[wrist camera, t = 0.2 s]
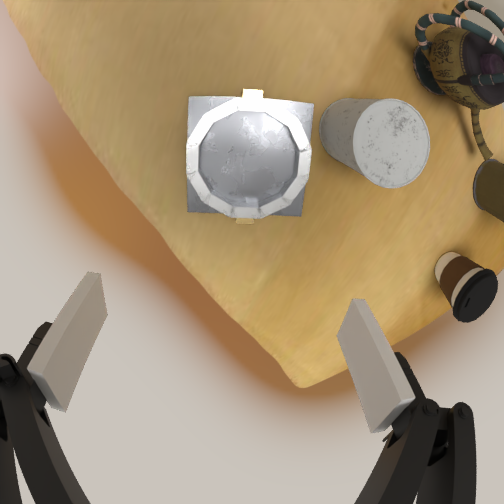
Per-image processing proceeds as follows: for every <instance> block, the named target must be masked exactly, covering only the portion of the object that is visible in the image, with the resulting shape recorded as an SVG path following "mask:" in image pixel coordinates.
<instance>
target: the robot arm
mask: <svg viewBox="0 0 504 504" xmlns="http://www.w3.org/2000/svg"><path fill="white" fill-rule="evenodd" d="M107 315H108V314H107V309H106V304H105V298H104V293H103V287H102V280H101V274H99V273H92V272H87V274H86V275H85V276H84V278H83V279H82V281H81V282H80V283H79V285H78V286H77V288H76V289H75V291H74V292H73V294H72V295H71V296H70V298H69V299H68V301H67V302H66V304H65V305H64V307H63V308H62V310H61V311H60V313H59V314H58V316H57V318H56V320H55V321H54V322H53V323H49V322H45V323H44V324H42V325H41V326H40V327H39V328H38V329H37V330H36V332H35V334H34V335H33V338H31V340H30V341H29V344H28V345H27V346H26V348H25V350H24V351H23V353H22V355H21V357H20V358H19V360H18V362H17V363H16V361H15V359H14V358H13V357H12V356H11V355H9V354H0V504H22V500H21V496H20V491H19V485H18V479H17V474H16V467H15V459H14V450H15V453H16V456H17V459H18V462H19V465H20V468H21V470H22V473H23V476H24V478H25V481H26V483H27V485H28V488H29V490H30V492H31V495H32V497H33V499H34V501H35V503H36V504H90V502H89V501H88V499H87V497H86V496H85V494H84V492H83V490H82V489H81V487H80V485H79V483H78V481H77V479H76V478H75V476H74V474H73V472H72V470H71V468H70V466H69V464H68V462H67V460H66V457H65V455H64V453H63V451H62V449H61V447H60V444H59V442H58V439H57V437H56V435H55V432H54V430H53V427H52V425H51V422H50V419H49V417H48V414H47V411H46V409H45V408H44V406H45V403H46V401H47V402H48V403H49V405H50V406H51V408H54V409H57V410H59V411H63V412H66V410H67V408H68V405H69V402H70V400H71V397H72V394H73V392H74V389H75V387H76V385H77V382H78V379H79V377H80V375H81V372H82V370H83V368H84V365H85V363H86V361H87V358H88V356H89V354H90V351H91V349H92V347H93V345H94V343H95V340H96V338H97V336H98V334H99V332H100V330H101V327H102V326H103V323H104V321H105V319H106V317H107ZM337 338H338V341H339V343H340V346H341V349H342V351H343V354H344V357H345V359H346V362H347V365H348V368H349V371H350V373H351V376H352V379H353V382H354V385H355V387H356V390H357V393H358V396H359V399H360V402H361V405H362V408H363V411H364V413H365V417H366V420H367V423H368V426H369V429H370V432H371V433H376V432H381V431H385V430H386V429H387V428H388V427H389V426H390V425H392V428H393V430H392V431H391V432H390V433H389V434H388V435H387V436H386V437H385V438H384V439H383V442H384V441H386V440H387V441H386V444H385V446H384V448H383V451H382V453H381V455H380V457H379V459H378V461H377V463H376V465H375V467H374V469H373V471H372V473H371V475H370V477H369V479H368V481H367V483H366V484H365V486H364V488H363V490H362V491H361V493H360V495H359V497H358V498H357V500H356V502H355V503H354V504H413V502H414V500H415V497H416V495H417V501H416V504H475V499H476V443H475V442H476V441H475V428H474V418H473V412H472V410H471V408H470V407H469V406H468V405H467V404H466V403H463V402H458V403H457V404H455V405H454V406H453V407H452V408H441V407H439V405H438V404H437V403H436V402H435V401H433V400H431V399H428V398H427V399H426V397H425V395H424V393H423V391H422V389H421V387H420V385H419V383H418V381H417V379H416V377H415V375H414V374H413V371H412V369H410V365H409V364H408V362H407V360H406V359H405V358H404V357H403V356H402V354H400V352H393V351H392V349H391V346H390V345H389V343H388V341H387V339H386V337H385V335H384V333H383V331H382V330H381V328H380V326H379V324H378V322H377V320H376V319H375V317H374V315H373V313H372V311H371V310H370V308H369V306H368V304H367V302H366V301H365V299H352V301H351V304H350V306H349V309H348V311H347V313H346V316H345V318H344V320H343V323H342V325H341V327H340V330H339V332H338V334H337ZM13 447H14V449H13ZM417 492H418V494H417Z"/></svg>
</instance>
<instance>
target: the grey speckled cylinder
mask: <svg viewBox="0 0 504 504" xmlns="http://www.w3.org/2000/svg"><path fill="white" fill-rule="evenodd" d="M319 134H320V139H321V142H322V145H323V147H324V148H325V150H326V151H327V153H328V154H329V155H330V156H331V157H333V158H334V159H336V160H337V161H340V162H342V163H344V164H345V165H347V166H349V167H350V168H352V169H354V170H355V171H357V172H358V173H360V174H362V175H363V176H365V177H366V178H367V179H369V180H370V181H371V182H373V183H374V184H376V185H379V186H381V187H384V188H399V187H402V186H405V185H407V184H409V183H411V182H412V181H413V180H415V179H416V178H417V177H418V176H419V175H420V173H421V172H422V170H423V169H424V167H425V165H426V163H427V160H428V157H429V151H430V137H429V132H428V128H427V126H426V123H425V121H424V119H423V118H422V116H421V115H420V114H419V112H418V111H417V110H416V109H415V108H414V107H412V106H411V105H409V104H408V103H406V102H404V101H401V100H398V99H353V98H346V99H341V100H338V101H336V102H334V103H332V104H331V105H330V106H329V107H328V108H327V109H326V110H325V112H324V113H323V115H322V117H321V121H320V125H319Z"/></svg>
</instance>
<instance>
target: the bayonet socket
mask: <svg viewBox="0 0 504 504" xmlns="http://www.w3.org/2000/svg"><path fill="white" fill-rule="evenodd" d="M262 97H263V90H250V89H243V97H225V96H189V104H188V137H187V144H186V174H187V204H188V212H202V213H223V214H225V215H226V216H228V217H231V218H236V224H254V218H257V219H261V218H264V217H266V216H268V215H282V216H301V214H302V207H303V199H304V191H305V184H306V183H307V181H308V178H309V170H310V162H311V153H312V149H311V146H310V139H311V130H312V119H313V109H314V104H311V103H304V102H296V101H287V100H277V99H265V98H262Z"/></svg>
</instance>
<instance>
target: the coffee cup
mask: <svg viewBox="0 0 504 504" xmlns="http://www.w3.org/2000/svg"><path fill="white" fill-rule="evenodd" d="M435 275H436V279H437V280H438V282H439V284H440V287H441V289H442V291H443V292H444V294H445V296H446V298H447V300H448V301H449V303H450V305H451V306H452V308H453V315H454V317H455V318H456V319H457V320H458V321H462V322H467V323H468V322H471V321H474V320H476V319H477V318H478V317H479V316H481V315H482V314H483V313H484V312H485V311H486V310H487V309H488V308H489V307H490V305H491V303H492V301H493V300H494V298H495V295H496V293H497V289H498V281H497V277H496V275H495V273H494V272H493V271H492V270H490V269H484V268H483V267H481V266H480V265H478V264H476V263H475V262H473V261H471V260H470V259H468V258H466V257H464V256H461V255H459V254H458V253H455V252H448V253H445V254H444V255H442V256H441V258H440V259H439V260H438V262H437V264H436V266H435Z"/></svg>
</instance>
